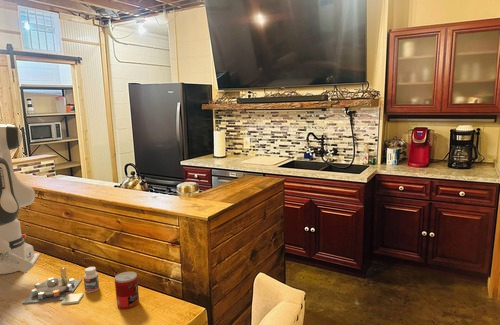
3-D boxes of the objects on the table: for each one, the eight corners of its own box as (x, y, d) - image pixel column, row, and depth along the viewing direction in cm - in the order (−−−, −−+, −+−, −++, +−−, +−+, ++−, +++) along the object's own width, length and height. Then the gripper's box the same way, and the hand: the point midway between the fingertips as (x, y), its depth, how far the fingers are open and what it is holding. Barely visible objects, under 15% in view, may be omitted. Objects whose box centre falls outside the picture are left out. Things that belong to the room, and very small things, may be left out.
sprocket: (29, 288, 142) (27, 267, 141) (70, 277, 151) (67, 257, 150) (34, 303, 130) (31, 280, 129) (77, 290, 139) (75, 268, 138)
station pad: (67, 296, 137) (67, 294, 137) (83, 294, 138) (83, 293, 137) (61, 304, 131) (61, 302, 131) (78, 303, 132) (78, 301, 132)
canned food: (132, 310, 126) (130, 281, 124) (112, 308, 127) (109, 280, 126) (143, 299, 133) (141, 271, 131) (124, 297, 135) (121, 270, 133)
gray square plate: (41, 283, 148) (41, 282, 148) (83, 280, 150) (82, 278, 150) (22, 304, 132) (22, 302, 132) (68, 300, 134) (68, 298, 134)
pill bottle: (83, 293, 139) (81, 272, 137) (86, 287, 144) (83, 267, 142) (98, 291, 140) (96, 270, 139) (100, 285, 145) (98, 265, 144)
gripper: (14, 249, 114) (48, 266, 124) (-10, 237, 126) (23, 254, 136) (0, 267, 111) (36, 283, 121) (-24, 253, 123) (11, 269, 133)
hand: (29, 267), depth 128 cm, fingers closed
